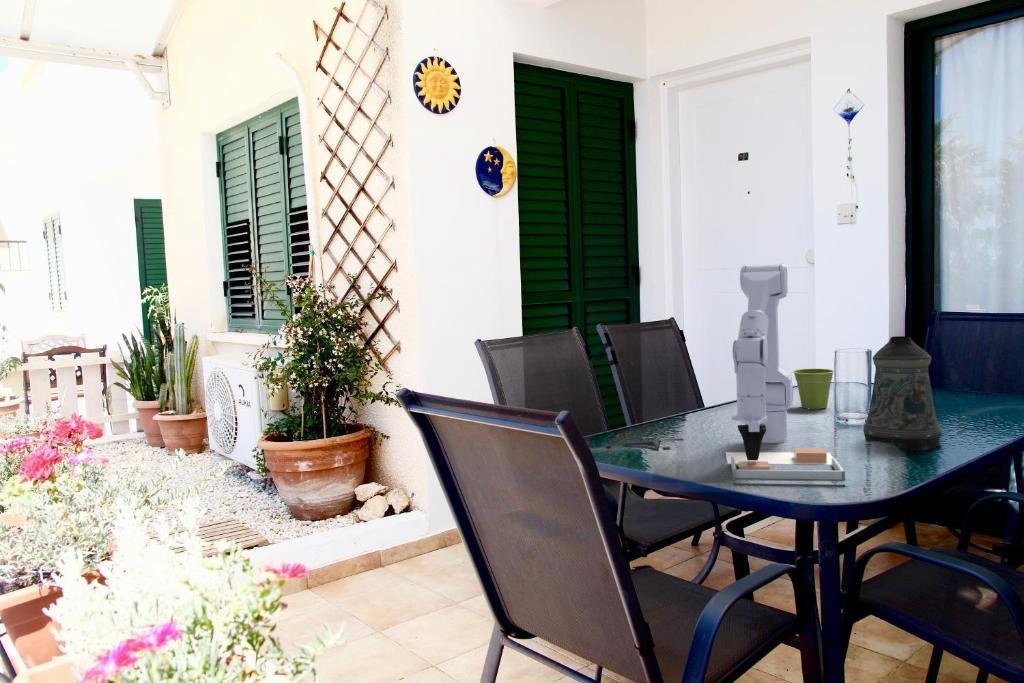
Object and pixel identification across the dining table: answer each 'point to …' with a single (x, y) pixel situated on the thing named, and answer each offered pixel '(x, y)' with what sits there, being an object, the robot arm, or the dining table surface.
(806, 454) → the terracotta tile
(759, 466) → the terracotta tile
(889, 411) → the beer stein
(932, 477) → the dining table surface
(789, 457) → the cream plate
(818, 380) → the plant pot
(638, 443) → the bracket
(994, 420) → the dining table surface
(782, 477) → the tray
